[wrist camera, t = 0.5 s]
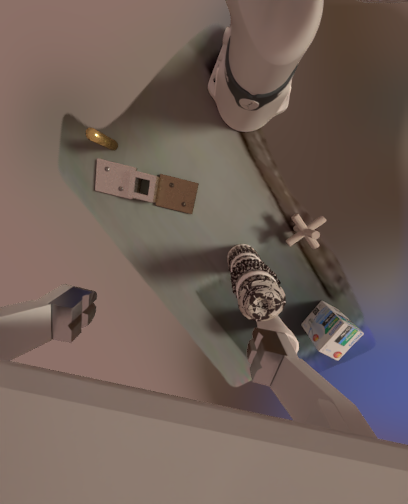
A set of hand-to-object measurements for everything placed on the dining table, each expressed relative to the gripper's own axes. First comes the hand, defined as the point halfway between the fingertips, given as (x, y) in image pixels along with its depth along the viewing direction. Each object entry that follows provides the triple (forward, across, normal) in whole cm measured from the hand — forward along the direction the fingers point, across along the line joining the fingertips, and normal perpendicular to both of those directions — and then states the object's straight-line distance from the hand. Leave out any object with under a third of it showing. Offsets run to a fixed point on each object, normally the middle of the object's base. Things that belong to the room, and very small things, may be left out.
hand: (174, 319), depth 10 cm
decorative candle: (+45, -13, +9) cm, 47 cm away
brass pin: (+45, +27, -12) cm, 54 cm away
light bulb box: (+45, -42, +22) cm, 65 cm away
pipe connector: (+45, -25, -3) cm, 51 cm away
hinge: (+45, +17, -4) cm, 48 cm away
